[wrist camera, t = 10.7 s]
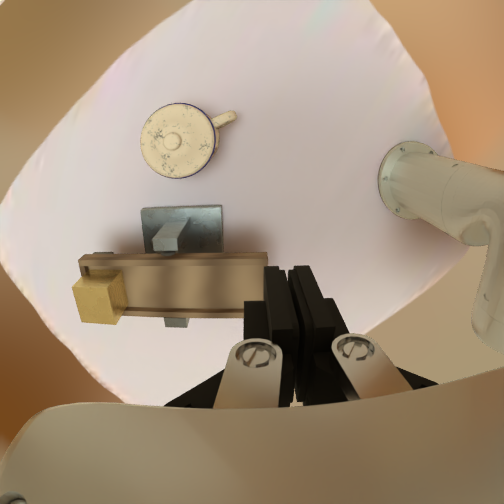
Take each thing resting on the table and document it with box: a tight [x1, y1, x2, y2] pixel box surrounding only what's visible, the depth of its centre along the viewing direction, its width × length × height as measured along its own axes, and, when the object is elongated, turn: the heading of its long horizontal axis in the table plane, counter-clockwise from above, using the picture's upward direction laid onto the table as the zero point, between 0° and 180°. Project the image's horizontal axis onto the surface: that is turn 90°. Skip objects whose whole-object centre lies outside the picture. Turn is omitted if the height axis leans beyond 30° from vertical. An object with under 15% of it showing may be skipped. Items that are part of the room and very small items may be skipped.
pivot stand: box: [141, 205, 223, 328], centre depth 43 cm, size 12×15×11 cm
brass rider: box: [72, 269, 129, 325], centre depth 36 cm, size 5×5×5 cm
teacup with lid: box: [140, 103, 237, 179], centre depth 36 cm, size 12×9×12 cm
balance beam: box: [78, 251, 268, 318], centre depth 39 cm, size 24×8×4 cm, turn 90°
